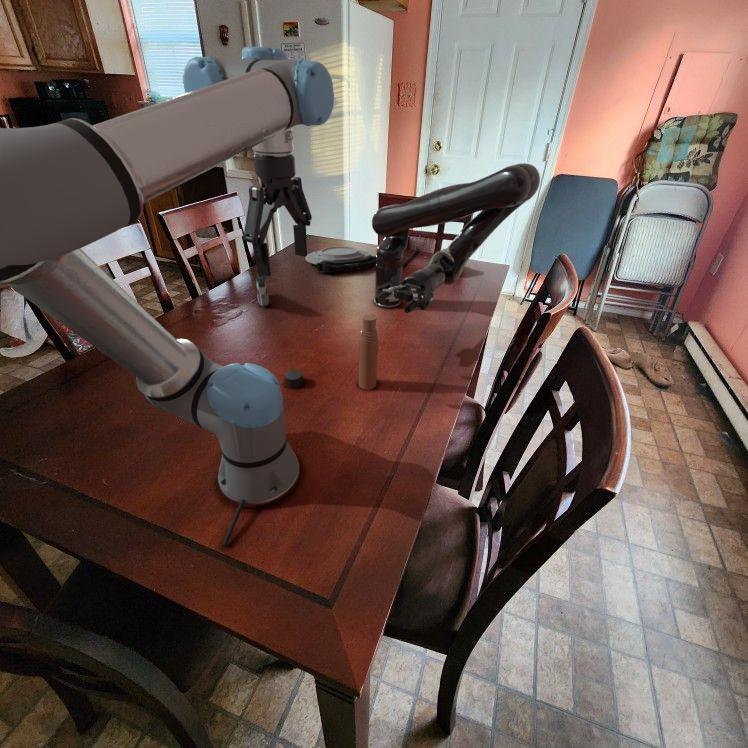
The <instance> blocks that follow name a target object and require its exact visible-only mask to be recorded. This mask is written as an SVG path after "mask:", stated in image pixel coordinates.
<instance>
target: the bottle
mask: <svg viewBox="0 0 748 748" xmlns="http://www.w3.org/2000/svg"><path fill="white" fill-rule="evenodd" d="M358 341H359V342H358V343H359V345H358V347H359V348H358V386H359V388H360V389H362V390H368V391H369V390H373V389H375V388H376V386H377V374H378V358H379V357H378V355H379V335H378V329H377V316H376V315H373V314H365V315H363V316H362V328H361V331H360V335H359V339H358Z"/></svg>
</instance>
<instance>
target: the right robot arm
mask: <svg viewBox="0 0 748 748" xmlns="http://www.w3.org/2000/svg"><path fill="white" fill-rule="evenodd" d="M540 184H541V175H540V172H539V169H537V167H536V166H535V165H533V164H531V163H528V162H527V163H526V162H525V163H523V162H520V163H516V164H513V165H512V164H511V165H508V166H506V167H503V168H502V169H499V170H498V171H496V172H494V173H491V174H489V175H487V176H485V177H482V178H480V179H478V180H474V181H472V182H464V183H457V184H452V185H448V186H444V187H442V188H438V189H436V190H433V191H430V192H428V193H425V194H423V195H421V196H418V197H416V198H413V199H412V200H410V201H408V202H406V203H402V204H400V203H394V204H391V205H386V206H382V207H380V208H378V209H377V210H376V211H375V213H374V214H373V216H372V218H371V227H372V230H373V231H374V232H375V234H376V235H377V236H379V237H382V238H383V239H382V241H381V242H380V243H379V244H378V245H377V247H376V253H375V254H376V255H375V256H376V266H375V281H374V283H375V284H374V299H373V303H374V304H375V305H376V306H377V307H379V308H386V309H392V308H396V307H399V306H400V305H401V301H404V302H407V303H406V304H405V305H404V313H405V314H408V313H411V312H413V311H414V310H418V309H420V310H421V311H426V310H427V308H429V307H430V306H431V305H432V304H433V302H434V292H435V291H436V290H437V289H438V288H439V287H441V286H442V285H443V284H444V285H446V286H451V285H454V284H455V283H456V282H458V280H459V279H460V277H461V275H462V273H463V271H464V269H465V266H466V265H467V263H468V261H469V260H470V258H471V257H472V256H473V255H474V254H475V253H476V252H477V250H478V249H479V248H480V247H481V246H482V245H483V244H484V243H485V242H486V240H487V239H488V238H489V237H490V236H491V235H492V233H494V232H495V230H496V229H497V228H498V227H499V226H501V224H502V223H503V222H504V221H505V220H506V219H507V218H509V217H510V215H512V214H513V213H514V212H515V211H516V210H517V209H519V208H520V207H521V206H523V205H524V204H525V203H526V202H528V201H529V200H531V199H532V198H533V197H534V196H535V195H536V193H537V192H538V190H539V188H540ZM477 212H478V214H476V215H475V216H474V217H473V218H472V219H471V220H469V222H468V223H467V224H465V225H464V227H463V228H461V230H460V231H459V233H457V235H456V236H455V237H454V238H453V240H452V241H451V242H450V244H449V245H448V246H449V252H450V254H451V256H452V257H453V259H454V260H453V259H452V258H451V257H450V256H449V255H448V254H447V253H446V252H444V251H441V250H440V251H436V253H434V254H433V255H432V256H431V258H430V259H429V261H428V262H427V265H426V266H424V267H423V268H421V269H418V270H416V271H414V272H413V273H412V274H410V275H408V276H407V277H405V278H404V279H403V271H404V270H403V269H404V265H405V264H407V263H408V262H409V261H410V260H411V259H412V258H413V257H414V256H415V255H416V253H417V251H418V249H419V247H418V246H415V249H414V251H413V253H412V254H411V255H410V256H409V257H408V258H407V259H406V260H405V259H404V258H405V252H406V249H407V246H408V241H409V234H410V230H411V229H418V228H425V227H426V228H427V227H433V226H438V225H443V224H446V223H450V222H455V221H458V220H460V219H464V218H466V217H468V216H470V215H473V214H475V213H477ZM404 260H405V261H404Z"/></svg>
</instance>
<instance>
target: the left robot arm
mask: <svg viewBox="0 0 748 748" xmlns="http://www.w3.org/2000/svg"><path fill="white" fill-rule="evenodd" d="M182 84H183V89H184V93H183V94H180V95H178V96H175V97H171V98H169V99H166V100H163V101H160V102H158V103H154V104H150V105H148V106H145V107H143V108H139V109H137V110H133V111H131V112H127V113H125V114H122V115H120V116H119V115H118V116H116V117H113V118H110V119H107V120H104V121H102V122H98V123H96V124H93V125H92V124H90V123H89V122H87V121H85V120H83V119H80V118H75V117H71V118H67V119H64V120H61V121H57V122H55V123H50V124H46V125H40V126H39V125H38V126H31V127H30V126H29V127H18V128H17V127H16V128H10V127H9V128H8V127H7V128H5V127H0V285H7V286H9V287H10V288H11V289H13V290H14V291H15V292H17V293H18V294H20V295H21V296H22V297H24V298H25V299H27V300H28V301H30V302H31V303H32V304H34V305H35V306H37V308H39V309H41V310H42V311H44V312H45V313H46V314H48V315H49V316H51V317H52V318H54V319H55V320H56V321H58V322H59V323H60V324H61V325H63V326H64V327H66V328H67V329H69V330H70V331H71V332H73V333H74V334H76V335H77V336H78V337H79V338H81V339H83V340H84V341H86V342H87V343H88V344H90V345H91V346H92V347H94V348H95V349H97V350H98V351H99V352H101V353H102V354H103V355H105V356H106V357H108V358H109V359H111V360H112V361H113V362H115V363H116V364H118V365H119V366H120V367H122V368H123V369H125V370H126V371H127V372H128V373H130V374H131V375H133V376H134V377H135V383H136V387H137V389H138V391H140V393H142V394H143V395H144V397H145V398H146V399H147V401H149V403H151V404H152V405H153V406H154V407H155V408H157V409H159V410H161V411H163V412H165V413H169V414H171V415H173V416H175V417H178V418H180V419H181V420H184V421H185V422H188V423H190V424H193V425H194V426H197V427H198V428H200V429H203V430H205V431H207V432H209V433H211V434H212V435H214V436H216V438H218V442H219V446H220V450H221V454H222V455H221V459H220V464H219V468H218V474H217V482H218V486H219V489H220V492H221V494H222V496H223V497H224V499H225V500H226V501H228V502H229V503H231V504H233V505H235V506H237V508H236V511H235V513H234V516H233V518H232V521H231V523H230V525H229V528H228V530H227V532H226V535H225V537H224V540H223V541H222V544H221V545H222V547H227V546H228V544H229V541H230V539H231V536H232V533H233V531H234V529H235V527H236V524H237V521H238V519H239V516H240V514H241V511H242V510H243V508H246V509H258V508H259V509H260V508H265V507H268V506H271V505H274V504H275V503H277V502H280V501H281V500H283V499H284V498H286V497H287V496H289V494H290V493H291V492H292V491H293V490H294V489H295V487H296V486H297V484H298V482H299V478H300V474H301V473H300V463H299V459H298V457H297V455H296V453H295V451H294V449H292V447H291V444H289V442H288V439H287V430H286V429H287V427H286V419H285V409H284V407H285V406H284V403H285V402H284V396H283V393H282V390H281V385H280V382H279V380H278V378H277V377H276V375H274V373H273V372H272V371H270V370H269V369H268V368H266V367H264V366H261V365H258V364H255V363H249V362H245V363H244V364H240V362H238V363H237V362H236V363H230V364H227V365H221V364H219V363H217V362H215V361H213V360H211V358H209V357H208V356H207V355H206V354H205V353H204V352H203V351H202V350H201V349H200V348H199V347H198V346H197V345H196V344H195V343H194V342H192V341H190V340H188V339H184V338H176V337H174V336H173V335H172V334H171V333H170V332H169V330H167V329H166V328H165V327H163V325H162V324H161V323H159V322H158V320H157V319H155V318H154V317H153V316H152V315H151V314H150V313H149V312H148V311H147V310H146V309H145V308H144V307H143V306H142V305H141V304H140V303H139V302H138V301H136V300H135V299H134V298H133V297H132V296H131V295H130V294H129V293H128V292H127V291H126V290H125V289H124V288H123V287H121V285H119V284H118V283H117V282H116V281H115V279H113V278H112V277H111V276H110V275H109V274H108V273H107V272H105V270H103V268H101V266H100V265H98V264H97V263H96V261H94V260H93V259H92V258H91V257H90V256H89V255H88V254H87V253H86V252H85V251H84V250H82V248H84V247H86V246H89V245H91V244H94V243H95V242H97V241H99V240H102V239H104V238H105V237H108V236H109V235H112V234H113V233H117V232H118V231H119V230H121V229H123V228H125V227H127V226H129V225H130V224H132V223H134V222H136V221H138V220H139V219H140V218H141V217H142V215H143V212H144V204H145V203H148V202H149V201H151V200H154V199H155V198H157V197H159V196H161V195H163V194H165V193H166V192H167V193H168V192H169V191H170V190H173V189H174V188H176V187H178V186H180V185H183V184H184V183H186V182H188V181H190V180H192V179H194V178H196V177H197V176H199V175H202V174H204V173H206V172H207V171H210V170H211V169H213V168H215V167H217V166H219V165H221V164H223V163H225V162H226V161H229V160H231V159H233V158H235V157H237V156H238V155H241V154H242V153H244V152H247V151H248V150H250V149H251V150H252V151H253V152H255V154H254V155H253V165H254V173H255V176H256V177H257V178H258V179H259V180H260V183H259V184H260V185H259V186H253V185H250V186H249V187H248V197H249V200H248V206H247V211H246V212H247V213H246V218H245V224H244V230H243V237H242V240H243V242H245V243H250V244H251V245H252V251H253V257H254V260H255V264H256V265H255V266H256V274H257V273H258V274H260V275H264V276H265V277H268V278H269V277H270V276H272V273H271V264H270V254H269V245H268V243H267V242H265V241H266V237H267V235H268V231H269V229H270V226H271V222H272V219H273V216H274V214H275V213H277V211H278V209H281V208H282V207H284V208H285V209H286V211H287V213H288V214H289V215H290V217H291V218H292V220H293V221H294V223H295V224H293V226H292V227H293V228H292V229H293V242H294V255H295V256H300V257H303V258H305V257H306V256H307V255H308V243H307V227H310V226H311V221H312V219H313V216H312V213H311V210H310V208H309V204H308V200H307V198H306V195H305V192H304V190H303V182H302V178H301V177H299V176H296V174H297V173H296V172H297V171H296V158H295V156H294V154H292V153H293V152H294V151H295V146H294V133H293V127H295V126H299V125H301V126H302V125H304V126H306V127H311V126H322V125H324V124H325V123H327V122H328V120H329V119H330V117H331V115H332V112H333V110H334V104H335V103H334V102H335V92H334V82H333V79H332V77H331V74H330V72H329V70H328V69H327V67H326V66H325V65H324V64H322V63H321V62H319V61H316V60H315V61H314V60H308V59H304V58H299V59H288V55H287V53H286V52H285V51H284V50H283V49H281V48H276V47H268V46H244V47H243V48H242V50H241V58H222V57H221V58H220V57H214V56H211V55H210V56H209V55H208V56H207V55H205V56H195V57H192V58H190V59H189V60H188V61H187V62H186V64H185V65H184V67H183V72H182Z"/></svg>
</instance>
